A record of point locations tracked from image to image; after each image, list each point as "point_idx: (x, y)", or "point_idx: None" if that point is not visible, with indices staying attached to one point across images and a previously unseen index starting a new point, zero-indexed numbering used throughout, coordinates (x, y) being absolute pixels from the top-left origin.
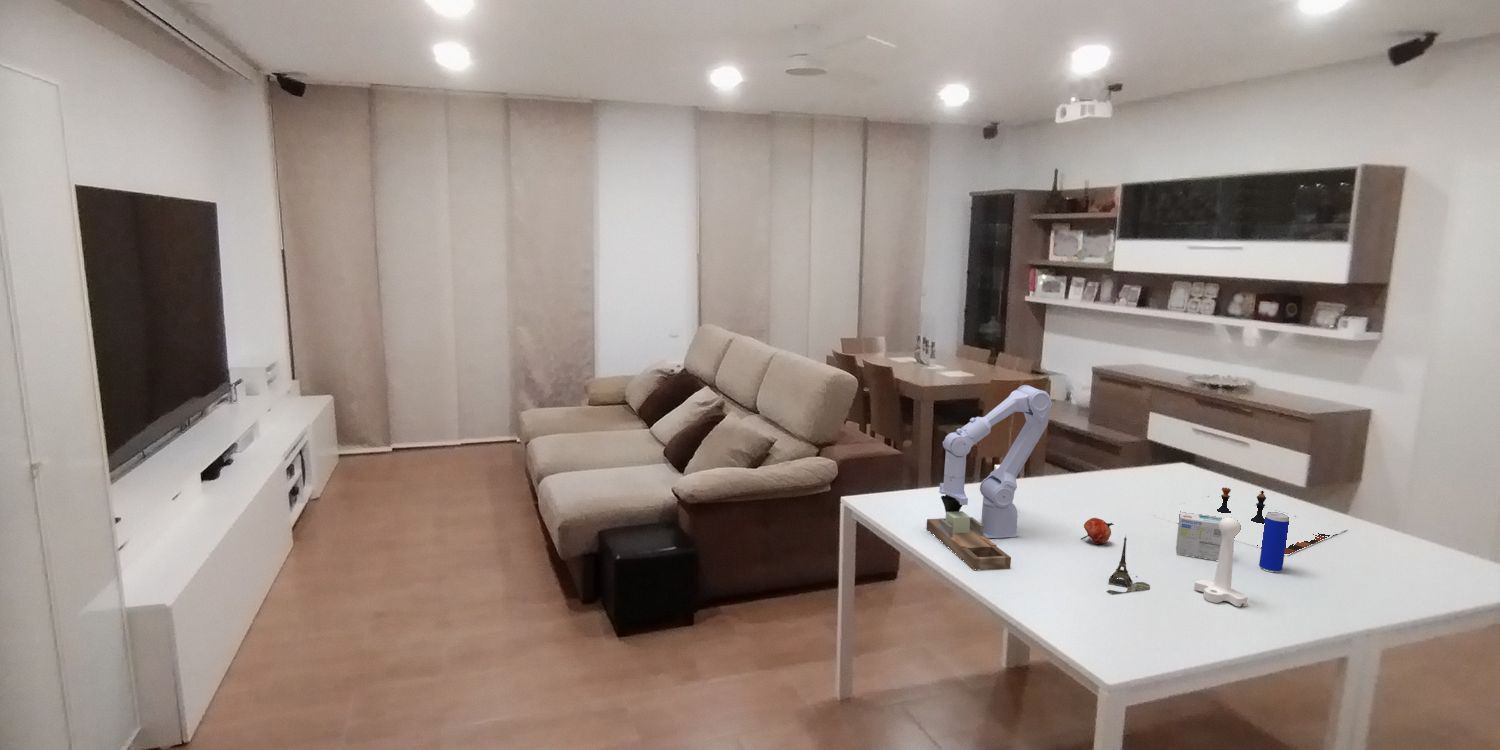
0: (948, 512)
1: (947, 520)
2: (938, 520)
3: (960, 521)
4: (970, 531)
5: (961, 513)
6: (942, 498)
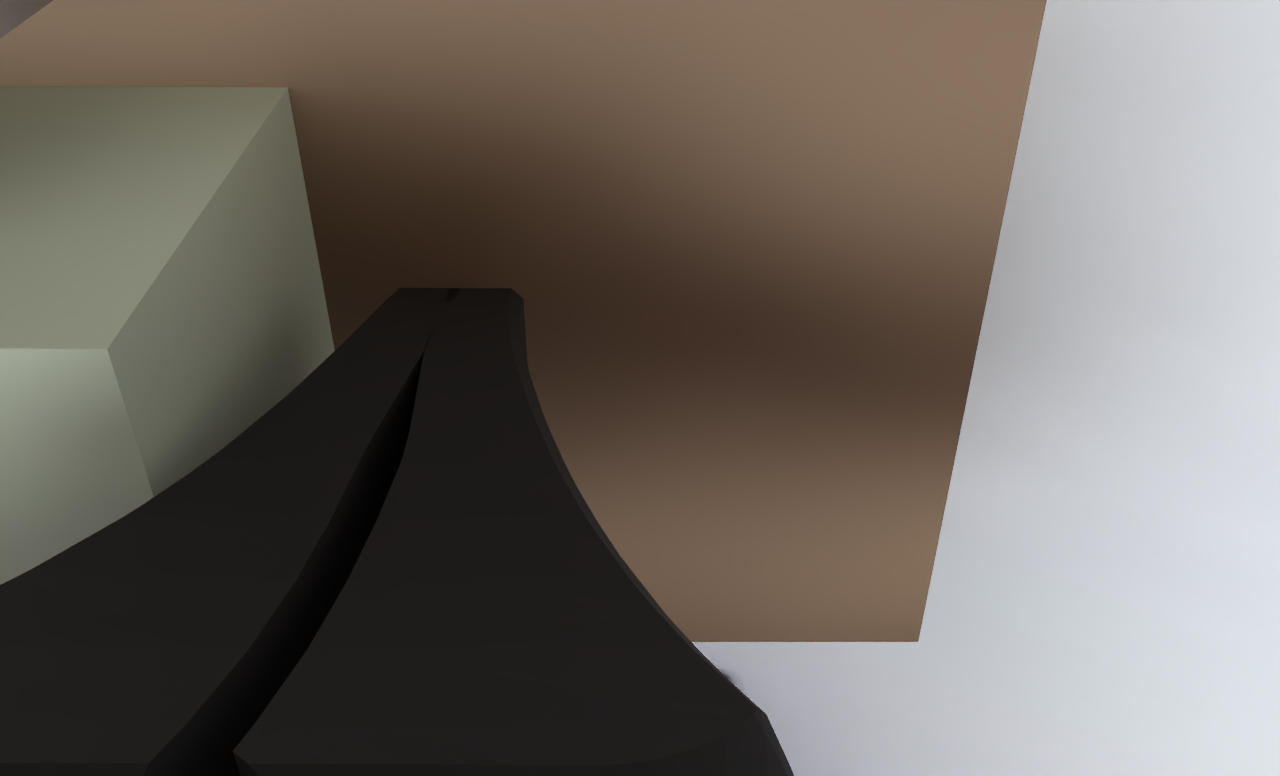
0: (35, 412)
1: (31, 201)
2: (861, 133)
3: None
4: None
5: None
6: (433, 750)
